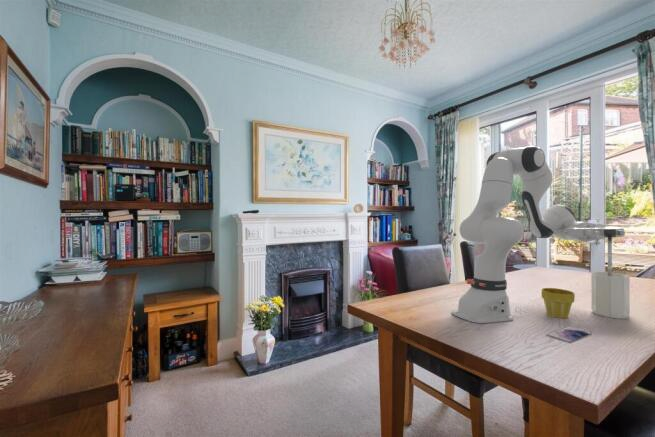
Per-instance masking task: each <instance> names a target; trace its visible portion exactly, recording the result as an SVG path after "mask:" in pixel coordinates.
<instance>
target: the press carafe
mask: <svg viewBox="0 0 655 437" xmlns="http://www.w3.org/2000/svg"><path fill="white" fill-rule="evenodd" d="M590 274H591V275H590V276H591V284H590V285H591V310H592V313H593V314H594V315H597V316H600V317H604V318H609V319H618V320H627V319H629V318H630V317H629V316H630V302H631V301H630V293H631V292H630V287H631V286H630V285H631V284H630V279H631V278H630V275H626V274H623V273H615V272H612V276H608V271H605V272H604V271H594V272H593V271H592V272H591V273H590Z"/></svg>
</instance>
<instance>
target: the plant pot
mask: <svg viewBox="0 0 655 437" xmlns="http://www.w3.org/2000/svg"><path fill="white" fill-rule="evenodd" d="M541 298H542V299H543V302H544V306H545V311H546V314H547V315H548V316H550V317H551V318H552V317H553V318H558V319H568V318H569V315H570V311H571V307H572V305H573V303H574V302H575V292H573V291H571V290H567V289H563V288H554V287H544V288H542V289H541Z"/></svg>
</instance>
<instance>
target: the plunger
mask: <svg viewBox="0 0 655 437" xmlns="http://www.w3.org/2000/svg"><path fill="white" fill-rule="evenodd" d="M604 237H608V238H607V272H608V276H612V273H613V238H612V237H616V229H604Z"/></svg>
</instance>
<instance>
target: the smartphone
mask: <svg viewBox="0 0 655 437" xmlns="http://www.w3.org/2000/svg"><path fill="white" fill-rule="evenodd" d="M592 335H593V333H592V332H589V331H586V330H582V329H580V328H575V327H571V326H565V327H563V328H560V329H557V330H554V331H551V332H548V333H546V334H545V336H546V337H548V338H552V339H555V340H558V341H562V342H564V343H567V342H568V344H573V343H575V342H578V341H579V340H580V341H581V340H583V339H585V338H588V337H590V336H592ZM572 342H573V343H572Z"/></svg>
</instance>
